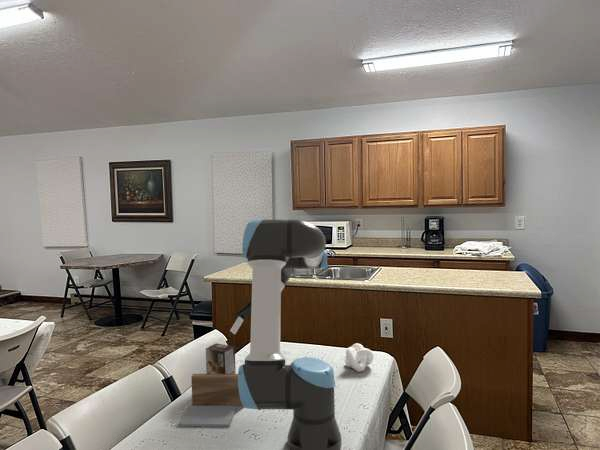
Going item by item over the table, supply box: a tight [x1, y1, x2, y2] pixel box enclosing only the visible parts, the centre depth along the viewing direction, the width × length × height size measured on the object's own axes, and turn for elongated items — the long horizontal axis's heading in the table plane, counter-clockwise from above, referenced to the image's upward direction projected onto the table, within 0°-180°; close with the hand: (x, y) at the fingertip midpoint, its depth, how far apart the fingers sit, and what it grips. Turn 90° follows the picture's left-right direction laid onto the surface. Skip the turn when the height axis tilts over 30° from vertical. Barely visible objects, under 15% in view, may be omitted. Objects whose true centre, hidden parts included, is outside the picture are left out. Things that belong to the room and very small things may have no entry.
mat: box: [177, 405, 237, 428], centre depth 132 cm, size 11×16×1 cm
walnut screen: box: [191, 373, 243, 406], centre depth 141 cm, size 2×19×10 cm, turn 88°
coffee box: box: [205, 343, 237, 374], centre depth 151 cm, size 9×6×16 cm
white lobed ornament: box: [344, 342, 375, 373], centre depth 169 cm, size 11×12×9 cm
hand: (243, 336), depth 158 cm, fingers open, 13 cm apart
